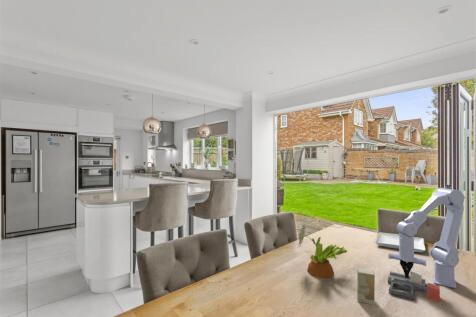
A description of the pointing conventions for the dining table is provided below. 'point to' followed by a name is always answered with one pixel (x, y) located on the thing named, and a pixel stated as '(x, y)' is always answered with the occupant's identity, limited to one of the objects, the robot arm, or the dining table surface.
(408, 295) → the grey square frame
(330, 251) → the decorative plant
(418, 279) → the block
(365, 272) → the skincare box
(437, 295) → the red block
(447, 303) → the dining table surface
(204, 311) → the dining table surface
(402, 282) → the breaker panel
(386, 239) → the square plate
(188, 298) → the dining table surface
